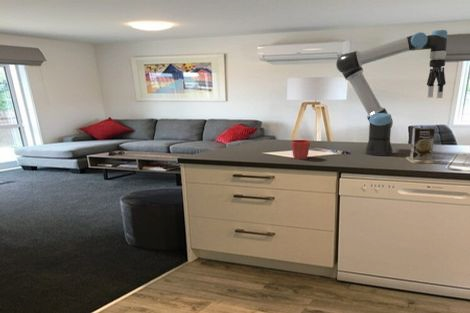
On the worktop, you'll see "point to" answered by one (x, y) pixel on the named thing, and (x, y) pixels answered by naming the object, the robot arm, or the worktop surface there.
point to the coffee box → (422, 143)
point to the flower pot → (300, 148)
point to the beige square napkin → (420, 160)
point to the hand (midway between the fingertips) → (434, 97)
